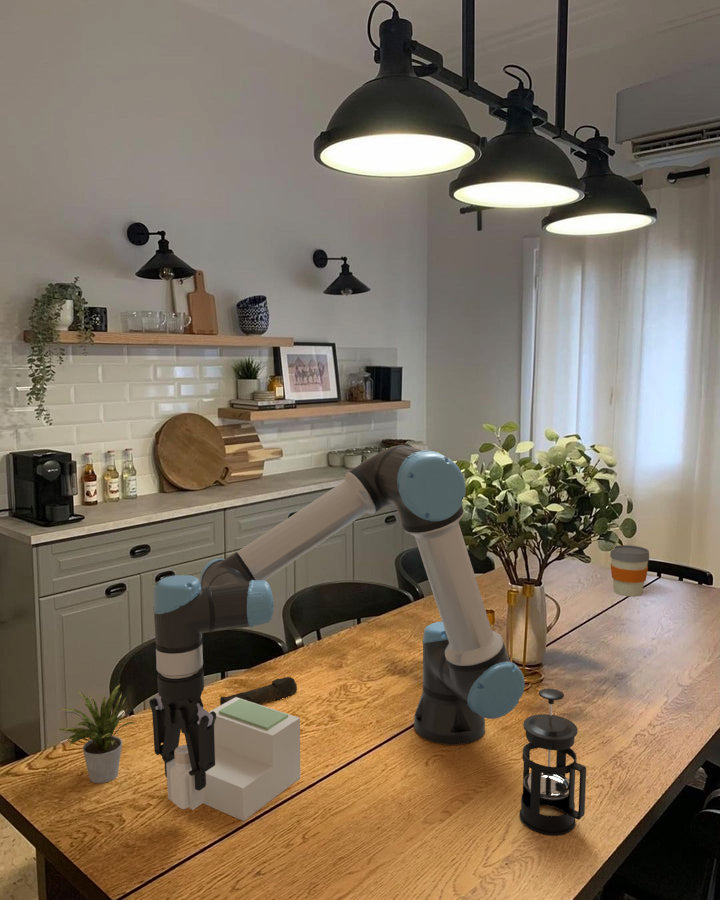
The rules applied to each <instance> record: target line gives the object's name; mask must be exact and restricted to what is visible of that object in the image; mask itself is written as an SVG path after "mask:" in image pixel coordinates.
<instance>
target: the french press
mask: <svg viewBox="0 0 720 900" xmlns="http://www.w3.org/2000/svg"><path fill="white" fill-rule="evenodd" d="M538 696H539V697H541V698H543V699H545V700H547V701H548V704H549V713H547V714H546V713H545V714H544V713H541V714H534V715H530V716H528V717H526V718H525V719H524V721H523V728H524V729H523V730H524V731H525V737H526V740H527V741H528V743H526V744H524V746H523V748H522V755H521V756H522V757H521V758H522V762H523V770H522V771H523V774H522V794H521V797H520V798H521V799H520V810H519V818H520V821H521V823H522V824H523V825H524V827H526V828H527V829H529V830H530V831H533V832H535V833H537V834H541V835H545V836H550V837H551V836H552V837H554V836H557V837H559V836H562V835H567V834H568V833H570V832H572V831H573V830H574V829H575V826H576V820H581V819H582V818H584V816H585V811H586V789H587V787H586V786H587V766H586V765H584V764H581V763H578V762H577V753H576V752H575V751H574V750H573V749H572V748H571V747H573V746H574V745H575V737H576V736H577V734H578V733H579V732H578V726H577V725H576V724H575V723H574V722H573V721H571V720H570V719H568V718H565V717H564V716H559V715H556V714H555V715H554V714H553V705H554V704H555V701H560V700H562V699H564V697H565V693H564V692H562V691H561V690H559V689H557V688H556V689H555V688H548V687H546V688H542V689H540V690H539V691H538ZM535 749H543V750H547V752H548V755H547V756H548V757H547V765H542V764H539V763H537V762H534V761H532V760H531V759H530V757H531V756H530V755H531V750H535ZM551 751H556V759H555V760H556V761H555V762H556V765H555V766H551V753H552V752H551ZM567 755H568V756H569V757H571V759H572V760H573V761H572V762H571V763H570V764H568V765H567ZM530 769H531V772H530ZM576 771H577V772H579V783H578V786H579V788H578V791H579V792H578V810H576V809H575V808H576V803H575V790H576V787H575V785H576V781H575V780H576ZM567 774H569V776H568V777H569V778H568V777H567V776H566V775H567ZM541 806H545V807H550V808H555V809H557V810H558V811H560V812H562V813H563V814H561V815H547V814H543V813H541Z"/></svg>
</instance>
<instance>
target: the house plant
mask: <svg viewBox="0 0 720 900" xmlns="http://www.w3.org/2000/svg"><path fill="white" fill-rule="evenodd" d="M120 686H121V684H120V683H118V685H116V686H115V688H114V689H113V691H112V692H111V694H110V696H109V697H108V699H107V701H106V696H104V697H103V698H102V702H101V706H100V712H99V709H98V705H97V702H96V700H95V699H93V697H92V696H91V697H90V696H86V695H85V694H84V693H82V692H80V691H77V693H78V694H79V695H80V696H81V697H82V698H83V700H84V701H85V703H84V706H86V707H87V708H88V711H89V713H90V714H91V717H92V718H93V720H92V719H91V718H90V717H89V716H87V715H86V714H85V713H83V712H82V711H80V710H79V709H75V708H60V709H57V710H59V711H60V710H61V711H67V712H66V714H69V713H70V714H75V715H77V716H79V719H81V720H82V721H81V722H78V724H77V726H83V727H84V726H85V727H86V728H83V727H65V728H59V729H58V730H60V731H64V732H66V733H70V734H71V733H72V735H70V737H69V738H67V741H69V740H70V742H69V744H68V748H69V747H70V746H71V745H73V744H74V743H76V742H78V741H79V740H82V739H84V740H86V741H87V742H85V744H84V745H83V746H82V751H83V756H84V760H85V764H86V770H87V773H88V778H89V781H91V782H92V783H94V784H105V782H106V783H108V782H112V781H114V780H115V779H116V778H117V777H118V775H119V767H120V760H121V755H122V748H123V747H122V746H123V740H122V739H121V738H120V737H118V736H115V735H116V733H117V732H118V731H119V730H120V729H122V728H124V727H125V726H127V725H130V724H135V725H136V723H135V722H134V721H128V722H126V723H124V724H123V725H120V726H119V728H118V729H117V730H116V731H115V729H116V728H117V726H118V725H119V723H120V722H119V721H120V718H122V716H123V715H124V714H125V712H127V711H128V710H129V709H130V707H129V708H127V709H126V710H124V711H123V712H122V713H121V714H120V712H121V710H122V708H123V707H124V706H123V705H124V703H125V701H126V699H127V696H125V697H124V699H123V701H122V702H121V704H120V701H121V698H122V696H123V695H122V692H121V693H120V695H119V697H118V698H117V701H116V703H115V706H114V702H115V699H116V696H117V694H118V692H119V688H120ZM91 702H92V703H91ZM92 704H93V705H92ZM119 705H120V706H119ZM113 706H114V708H113ZM93 707H94V708H93ZM117 709H118V710H117ZM79 714H80V715H79ZM73 719H77V717H75V718H73ZM111 780H112V781H111Z"/></svg>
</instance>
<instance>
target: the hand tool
mask: <svg viewBox="0 0 720 900" xmlns="http://www.w3.org/2000/svg"><path fill="white" fill-rule="evenodd" d="M297 686H298V685H297V682H296V681H295V679H294V678H293V677H291V676H285V677H282V678H281V677H280V678H276V679H274V680H272V682H271V683H270V684H268V685H265V686H261V687H257V688H253V689H250V690H247V691H243V692H238V693H236V694H231V695H228V696H220V698H219V703H220V705H219V706H221V705H222V704H224V703H226V702H228V701H230V700H232V699H233V698H235V697H237V698H240V699H244V700H247V701H250V702H253V703H256V704H259V705H261V704H262V703H266V702H268V701H273V700H274V699H275V701H277V700H279V701H281V700H280V699H282V698H285V699H287V698H289V697H291V696H293V695H295V694H296V693H297V692H298V687H297ZM294 693H295V694H294ZM292 694H293V695H292ZM290 695H291V696H290ZM288 696H289V697H288ZM286 697H287V698H286ZM282 700H283V699H282Z"/></svg>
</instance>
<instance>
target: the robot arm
mask: <svg viewBox="0 0 720 900" xmlns="http://www.w3.org/2000/svg"><path fill="white" fill-rule="evenodd" d="M465 480H466V479H465V477H464V475H463V472H462V471H461V469H460V467H459V466H458V465H457V464H456V463H455V462H454V461H453V460H452V459H451V458H448V457H447V456H445V455H444V454H441V453H439V452H437V451H433V450H429V449H428V450H427V449H426V450H425V449H420V448H416V447H414V446H410V445H406V444H405V445H404V444H403V445H400V444H399V445H394V446H391V447H388V448H385V449H383V450H381V451H379V452H378V453H376V454H374V455H372V456H370V458H368V459H366V460H364V461H363V462H362V463H360V464H358V465H357V466H355V467H354V468H352V469H351V470H349V471H348V472H347V473H345V476H344V481H342V482H340V483H339V484H338V485H336V486H334V487H333V488H331V489H330V490H328V491H326V492H325V493H324V494H322V495H320V496H319V497H318V498H316V499H314V500H313V501H311V502H310V503H309V504H307V505H306V506H304V507H303V508H301V509H299V510H298V511H296V512H295V513H293V514H292V515H291V516H289V517H288V518H286V519H284V520H283V521H281V522H280V523H278V524H277V525H274V527H273V528H270V529H269V530H268V531H266V532H264V533H263V534H262V535H260V536H259V537H257V538H256V539H254V540H252V541H251V542H250V543H248V544H247V545H245V546H243V547H242V548H240V549H239V550H238V551H236V552H234V553H232V554H231V555H229V556H228V557H226V558H215V559H212V560H211V561H208V562H207V563H206V564H205V565H204V566H203V567H202V569H201V571H200V574H199V578H198V577H196V576H194V575H191V574H190V575H189V574H186V575H185V574H184V575H181V574H177V575H176V574H175V575H170V576H166V577H163V578H161V579H160V580H158V581H156V583H155V585H154V589H153V607H152V608H153V620H154V636H155V657H156V658H155V659H156V660H155V661H156V662H155V663H156V665H155V666H156V667H155V668H156V671H157V672H158V673H157V674H156V676H157V680H156V681H157V693H158V695H157V696H155V697H153V698H151V699H150V700H149V707H150V710H151V713H152V714H151V715H152V731H153V732H152V733H153V745H154V746H153V749H154V754H155V755H156V756H159V755H160V756H161V759H162V760H163V763H164V774H165V775H164V776H165V778H166V784H167V785H166V787H167V799H168V800H169V801H172V800H171V783H170V769H171V768H172V767H173V766H175V765H176V763H175V755H174V751H175V749H176V748H177V747H179V746H180V745H179V743H180V737H181V734H184V737H185V745H187V749H188V754H189V758H190V763H191V768H192V770H191V771H189V772H188V778H189V801H190V807H189V809H190V810H192V811H194V810H195V809H196V808H198V807H200V806H201V805H202V804H203V803H204V802H205V798H204V787H205V786H206V771H208V770H209V769H211V768H212V767H214V766H215V742H214V723H215V719H216V713H215V712H214V711H212V712H210V711H207V709H205V708H204V703H203V701H202V694H203V691H204V689H205V677H204V676H205V675H204V668H203V665H204V659H203V657H204V656H203V654H204V653H203V634H204V633H212V632H219V631H226V630H233V629H241V628H248V627H249V628H253V627H255V626H259V625H264V624H267V623H270V622H271V620H272V618H273V616H274V606H275V605H274V598H273V597H274V596H273V592H272V588H271V585H270V584H269V582H268V581H267V580H268V579H269V578H271V577H272V576H274V575H275V574H277V573H279V572H280V571H282V570H283V569H284V568H286V567H288V566H289V565H290V564H292V563H294V562H295V561H296V560H297V559H299V558H301V557H302V556H304V555H306V554H307V553H308V552H310V551H311V550H313V549H314V548H316V547H317V546H319V545H320V544H322V543H323V542H325V541H326V540H327V539H330V538H331V537H332V536H334V535H335V534H336V533H338V532H339V531H341V530H342V529H344V528H346V527H347V526H348V525H350V524H352V523H353V522H354V521H356V520H357V519H360V517H362V516H364V515H365V514H370V515H375V514H376V513H378V512H379V511H380V510H381V509H385V508H386V507H388V506H395V507H396V510H397V513H398V517H399V519H400V522H401V526H402V529H403V531H404V532H406V534H409V535H411V536H414V539H415V541H416V544H417V548H418V552H419V554H420V557H421V560H422V563H423V567H424V569H425V572H426V576H427V579H428V582H429V585H430V588H431V591H432V594H433V597H434V598H433V599H434V601H435V604H436V607H437V610H438V613H439V616H440V619H441V621H436V622H433V623H431V624H429V625H427V626H426V627H425V628H424V630H423V635H422V636H423V637H422V643H421V644H422V693H421V696H420V698H419V702H418V704H417V707H416V710H415V713H414V718H413V719H414V721H413V728H414V730H415V731H416V734H418V736H420V737H421V738H423V739H425V740H427V741H430V742H433V743H437V744H440V745H447V746H449V745H450V746H457V745H458V746H459V745H468V744H470V743H473V742H476V741H478V740H479V739H481V738H483V736H484V735H485V732H486V720H485V719H490V720H493V719H499V718H501V717H504V716H506V715H507V714H509V713H510V712H512V711H513V710H514V709H515V708H516V707H517V705H518V704H519V702H520V699H521V698H522V697H523V694H524V691H525V686H526V685H525V676H524V674H523V671H522V670H521V669H520V668H519V666H518V665H517V664H516V663H515V662H512V661H511V660H510V657H509V655H508V652H507V649H506V645H505V642H504V639H503V637H502V636H501V634H499V633H498V632H496V631H494V630H492V627H491V624H490V621H489V616H488V614H487V611H486V608H485V605H484V601H483V598H482V595H481V591H480V588H479V585H478V582H477V578H476V575H475V571H474V568H473V566H472V562H471V558H470V556H469V552H468V549H467V546H466V543H465V539H464V536H463V533H462V530H461V529H462V528H461V526H460V521H461V519H462V518H463V516H464V515H465V512H464V508H463V503H464V502H463V501H464V500H463V499H464V498H465V497H466V493H467V492H466V490H467V488H466V481H465ZM209 712H210V713H209Z"/></svg>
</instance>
